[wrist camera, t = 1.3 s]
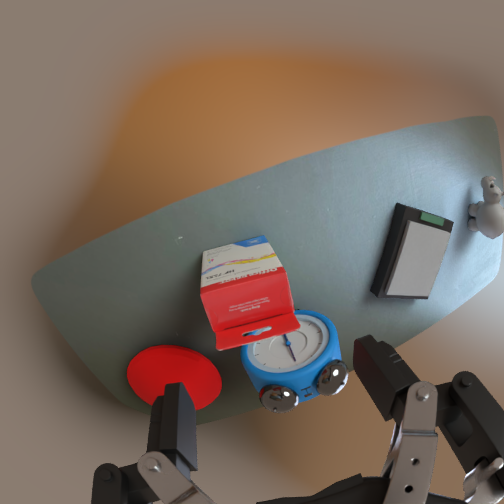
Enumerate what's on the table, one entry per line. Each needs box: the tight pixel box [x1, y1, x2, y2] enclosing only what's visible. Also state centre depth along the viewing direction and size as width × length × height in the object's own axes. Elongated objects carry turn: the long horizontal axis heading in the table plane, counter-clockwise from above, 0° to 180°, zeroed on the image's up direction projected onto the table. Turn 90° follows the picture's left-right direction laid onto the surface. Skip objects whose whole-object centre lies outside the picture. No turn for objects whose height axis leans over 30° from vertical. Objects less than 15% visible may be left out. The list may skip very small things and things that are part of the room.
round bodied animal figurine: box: [468, 176, 504, 239], centre depth 36 cm, size 7×12×8 cm, turn 10°
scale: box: [370, 203, 454, 299], centre depth 39 cm, size 15×13×3 cm
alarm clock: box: [240, 309, 349, 413], centre depth 35 cm, size 13×6×15 cm, turn 108°
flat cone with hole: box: [127, 345, 222, 410], centre depth 39 cm, size 16×16×7 cm
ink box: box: [200, 235, 301, 351], centre depth 30 cm, size 8×5×15 cm, turn 103°
